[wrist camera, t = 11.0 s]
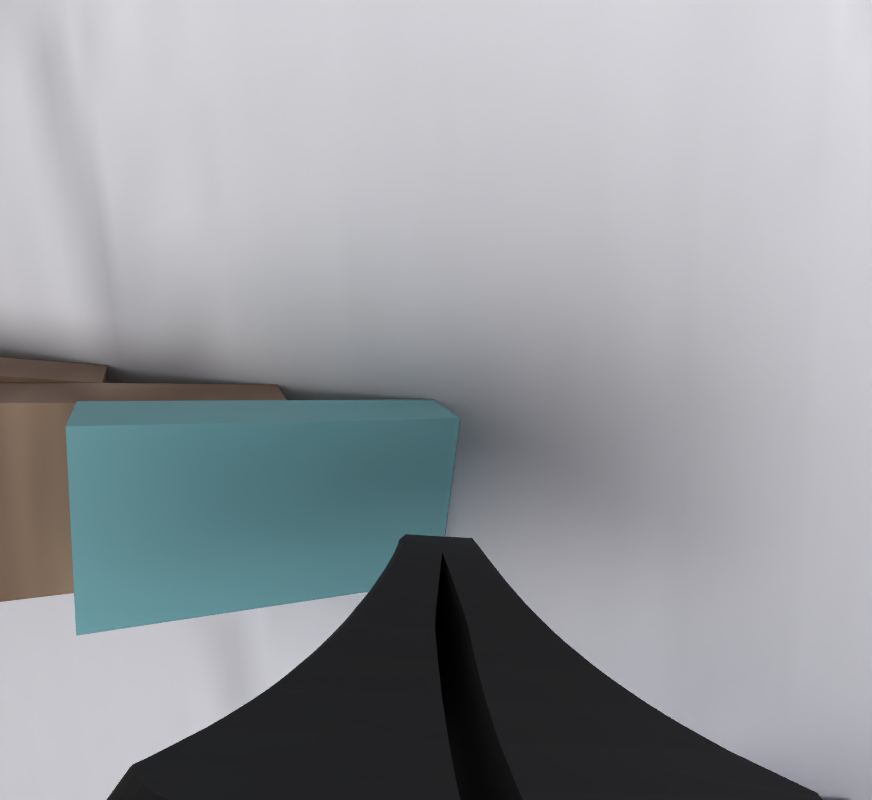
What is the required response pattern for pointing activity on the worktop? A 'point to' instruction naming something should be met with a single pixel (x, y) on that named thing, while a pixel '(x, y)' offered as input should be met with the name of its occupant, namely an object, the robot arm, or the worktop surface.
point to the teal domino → (246, 501)
